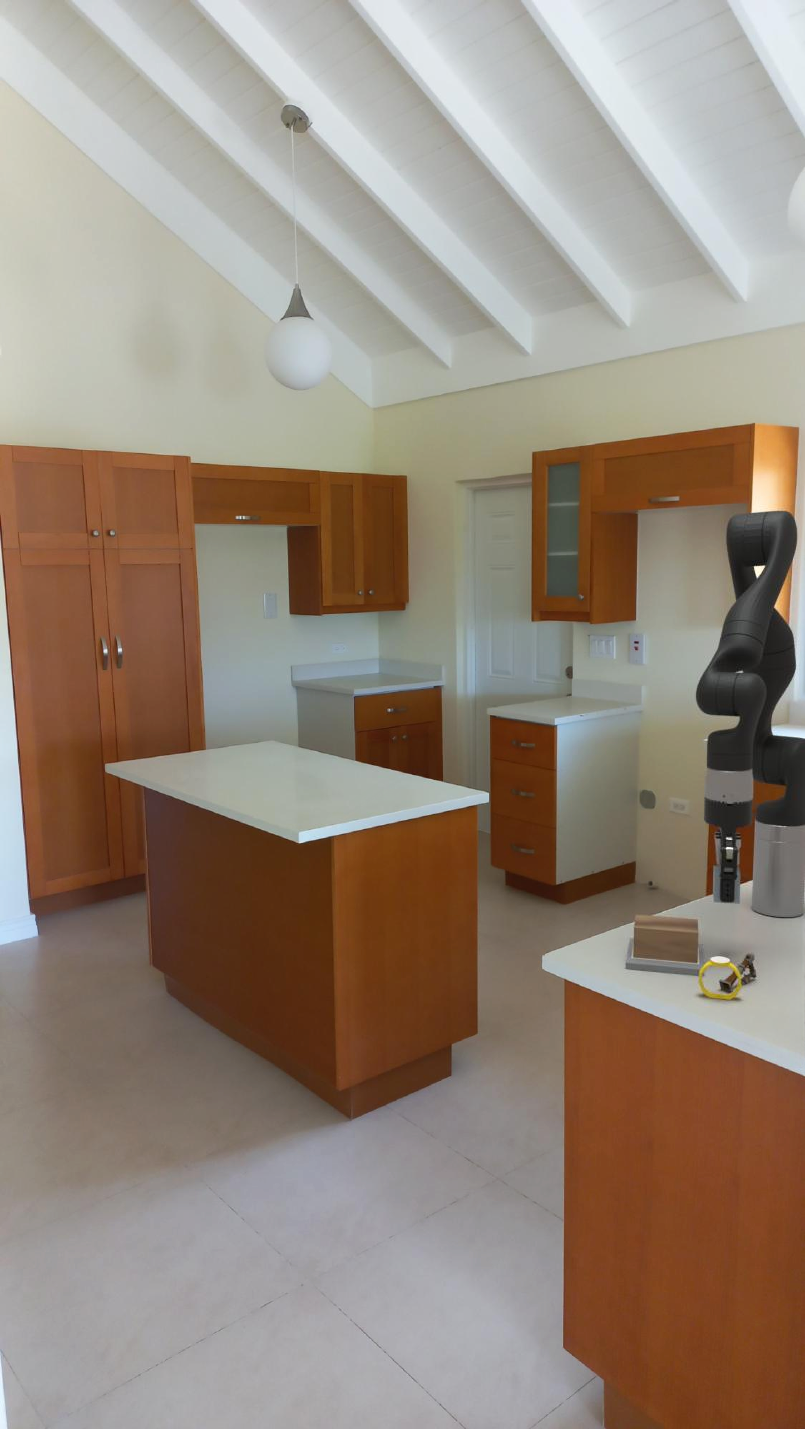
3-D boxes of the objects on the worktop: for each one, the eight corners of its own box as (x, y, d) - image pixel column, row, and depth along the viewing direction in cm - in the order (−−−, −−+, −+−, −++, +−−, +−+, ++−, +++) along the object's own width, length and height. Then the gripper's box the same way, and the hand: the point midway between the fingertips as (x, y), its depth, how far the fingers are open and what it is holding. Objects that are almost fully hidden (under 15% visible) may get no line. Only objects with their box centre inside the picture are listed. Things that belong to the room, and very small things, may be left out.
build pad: (629, 943, 171) (629, 937, 171) (702, 950, 168) (702, 943, 168) (625, 968, 160) (626, 962, 160) (704, 976, 157) (704, 969, 157)
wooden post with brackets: (763, 974, 155) (757, 951, 154) (735, 1006, 151) (728, 982, 150) (753, 971, 157) (747, 948, 155) (724, 1002, 153) (718, 979, 151)
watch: (699, 1000, 148) (697, 961, 148) (699, 993, 151) (697, 955, 150) (741, 1002, 146) (740, 963, 146) (741, 995, 149) (740, 956, 148)
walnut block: (635, 943, 169) (635, 914, 168) (696, 948, 166) (697, 919, 165) (633, 957, 162) (633, 927, 161) (697, 963, 159) (698, 932, 159)
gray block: (712, 894, 167) (713, 865, 166) (738, 896, 166) (738, 866, 165) (713, 902, 163) (714, 872, 162) (739, 903, 162) (740, 873, 161)
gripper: (703, 785, 170) (701, 882, 172) (705, 803, 156) (703, 909, 159) (750, 786, 168) (747, 885, 170) (756, 805, 154) (753, 912, 157)
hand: (726, 896), depth 164 cm, fingers closed on gray block, 4 cm apart
